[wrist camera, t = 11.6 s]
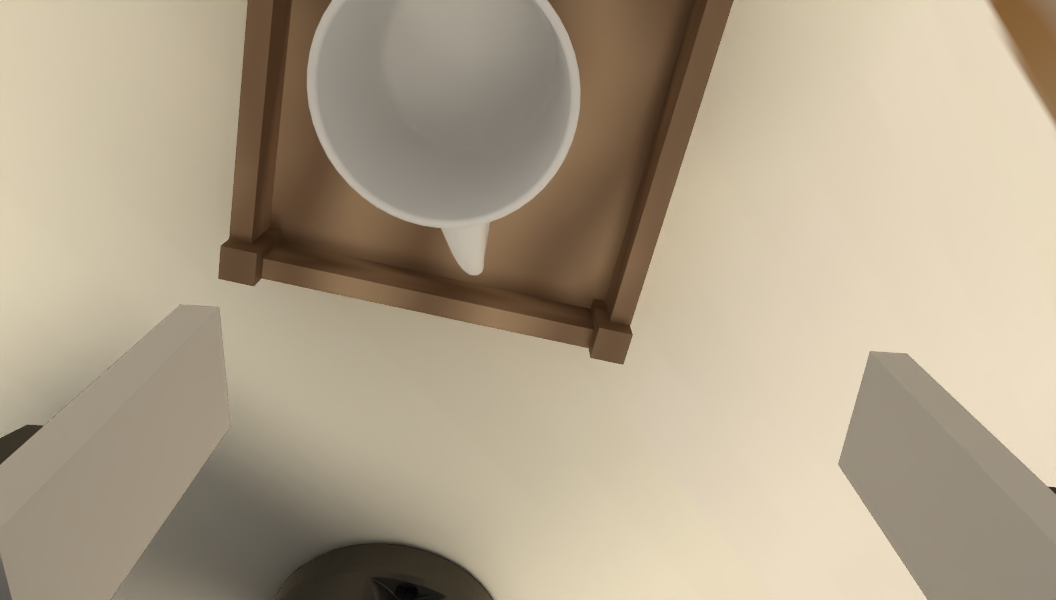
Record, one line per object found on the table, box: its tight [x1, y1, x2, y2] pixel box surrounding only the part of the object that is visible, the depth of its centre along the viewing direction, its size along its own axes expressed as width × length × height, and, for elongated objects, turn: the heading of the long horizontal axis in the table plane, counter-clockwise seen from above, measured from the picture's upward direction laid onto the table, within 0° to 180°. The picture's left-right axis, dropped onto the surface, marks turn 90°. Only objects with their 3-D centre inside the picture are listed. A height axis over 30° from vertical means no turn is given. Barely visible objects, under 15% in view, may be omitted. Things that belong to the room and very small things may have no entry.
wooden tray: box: [218, 0, 733, 364], centre depth 32 cm, size 19×19×4 cm
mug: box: [307, 0, 581, 275], centre depth 29 cm, size 9×12×11 cm
